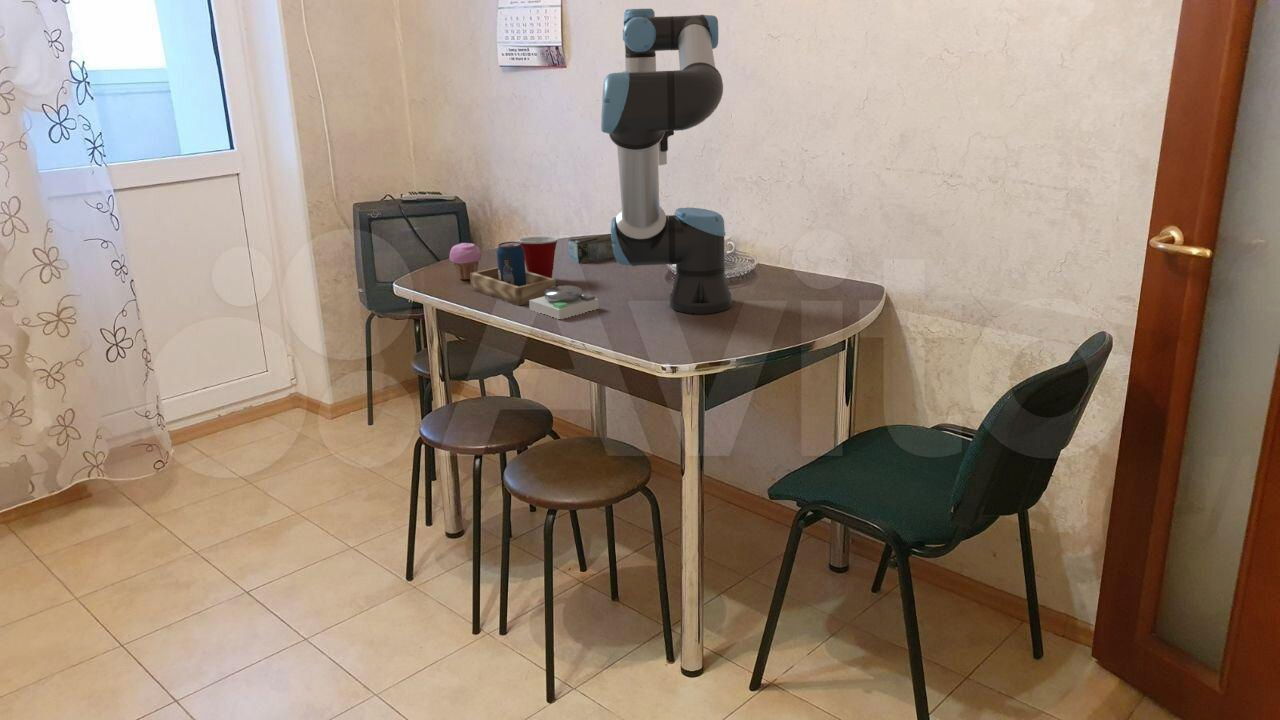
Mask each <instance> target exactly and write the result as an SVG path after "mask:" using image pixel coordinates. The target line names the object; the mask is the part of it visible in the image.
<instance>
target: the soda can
mask: <svg viewBox="0 0 1280 720" xmlns="http://www.w3.org/2000/svg"><path fill="white" fill-rule="evenodd" d="M497 247H498V248H497V250H496V259H497V267H498V274H499V280H500V281H503V282H506V283H509V284H512V285H516V286H523V285H526V272H525V271H526V263H525V259H524V249H523V248H522V246H521V243H519V242H518V241H506V242H505V241H504V242H501V243H498V246H497Z"/></svg>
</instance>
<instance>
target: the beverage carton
mask: <svg viewBox="0 0 1280 720" xmlns="http://www.w3.org/2000/svg"><path fill="white" fill-rule="evenodd" d="M567 244H568V245H567V246H568V249H567V250H568V257H569V258H571V259H572V261H573V260H574V262H575V261H576V262H575V263H578V264H582V263H583V262H584V263H590V262H589V261H591V262H597V261H596V260H598V261H603V259H604V260H609V259H610V258H611V259H616V258H615V255H614V252H613V246H612V239H611V233H606V234H600V235H594V236H588V237H581V238H570V239H568V240H567ZM571 259H570V260H571ZM611 259H610V260H611Z"/></svg>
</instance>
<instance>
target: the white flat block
mask: <svg viewBox="0 0 1280 720" xmlns="http://www.w3.org/2000/svg"><path fill="white" fill-rule="evenodd" d="M528 304H529V305H528V306H529V311H532V312H534V311H535V312H534V313H537V312H538V314H540V313H542V314H541V315H543V314H546V315H549V316H551V317H550V318H552V317H554V318H553V319H555V318H557V319H556V320H558V319H562V320H564V319H563V318H566V319H568V317H569V318H572V317H571V316H573V317H575V315H576V316H579V314H580V315H583V314H586V313H585V312H587V313H589V312H588V311H591V312H593V311H592V310H594V311H597V310H596V309H598V310H599V309H600V302H599V299H598V298H596V297H595V295H592V294H589V293H588V294H582V297H581V298H579V299H577V300H573V301H567V302H554V301H549V300H546V299H545V296H544V297H540V298H536V299H532V300H529V303H528ZM582 313H583V314H582ZM546 315H545V316H546ZM549 316H548V317H549Z"/></svg>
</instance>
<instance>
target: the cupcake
mask: <svg viewBox="0 0 1280 720" xmlns="http://www.w3.org/2000/svg"><path fill="white" fill-rule="evenodd" d="M481 252H482V251H481V249H480V248H479V247H478V246H477V245H476V244H475V243H470V242H460V243H458V244H455V245H453V246H452V247H451V249H450V251H449V261H450V262H452V263H453V265H454V267H455V269H456V273H457V277H458V278H459V279H460V280H463V281H464V280H470V273H473V272H477V271H478V268H479V261H481V259H482V253H481Z"/></svg>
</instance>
